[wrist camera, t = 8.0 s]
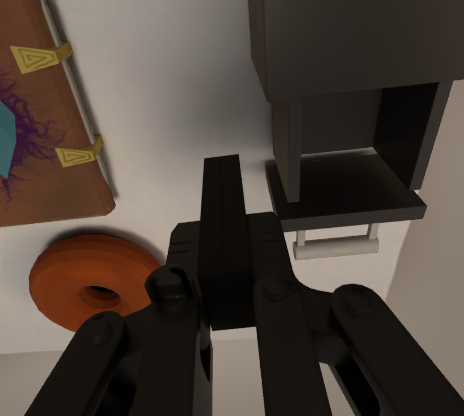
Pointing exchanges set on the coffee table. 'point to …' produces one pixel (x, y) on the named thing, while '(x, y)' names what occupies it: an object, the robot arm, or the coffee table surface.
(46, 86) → the book
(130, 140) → the coffee table surface
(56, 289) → the donut
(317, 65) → the cabinet
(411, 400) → the robot arm
